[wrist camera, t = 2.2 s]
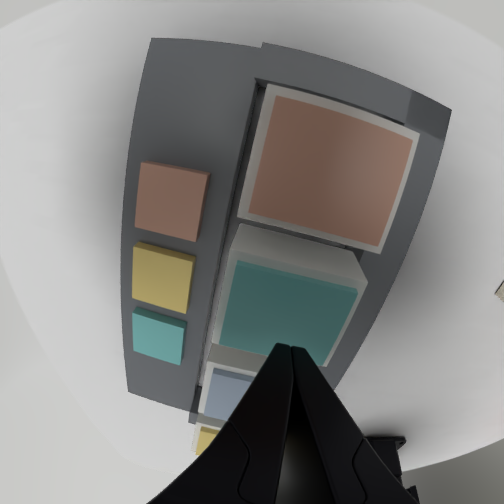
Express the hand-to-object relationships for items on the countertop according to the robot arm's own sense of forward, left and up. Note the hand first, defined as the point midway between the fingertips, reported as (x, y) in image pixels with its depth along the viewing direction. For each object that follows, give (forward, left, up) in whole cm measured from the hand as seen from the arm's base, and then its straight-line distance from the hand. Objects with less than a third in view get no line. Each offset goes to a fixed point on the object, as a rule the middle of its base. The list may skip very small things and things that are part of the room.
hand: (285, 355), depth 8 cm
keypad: (-2, +1, -8) cm, 8 cm away
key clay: (+5, 0, -5) cm, 7 cm away
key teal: (0, 0, -5) cm, 6 cm away
